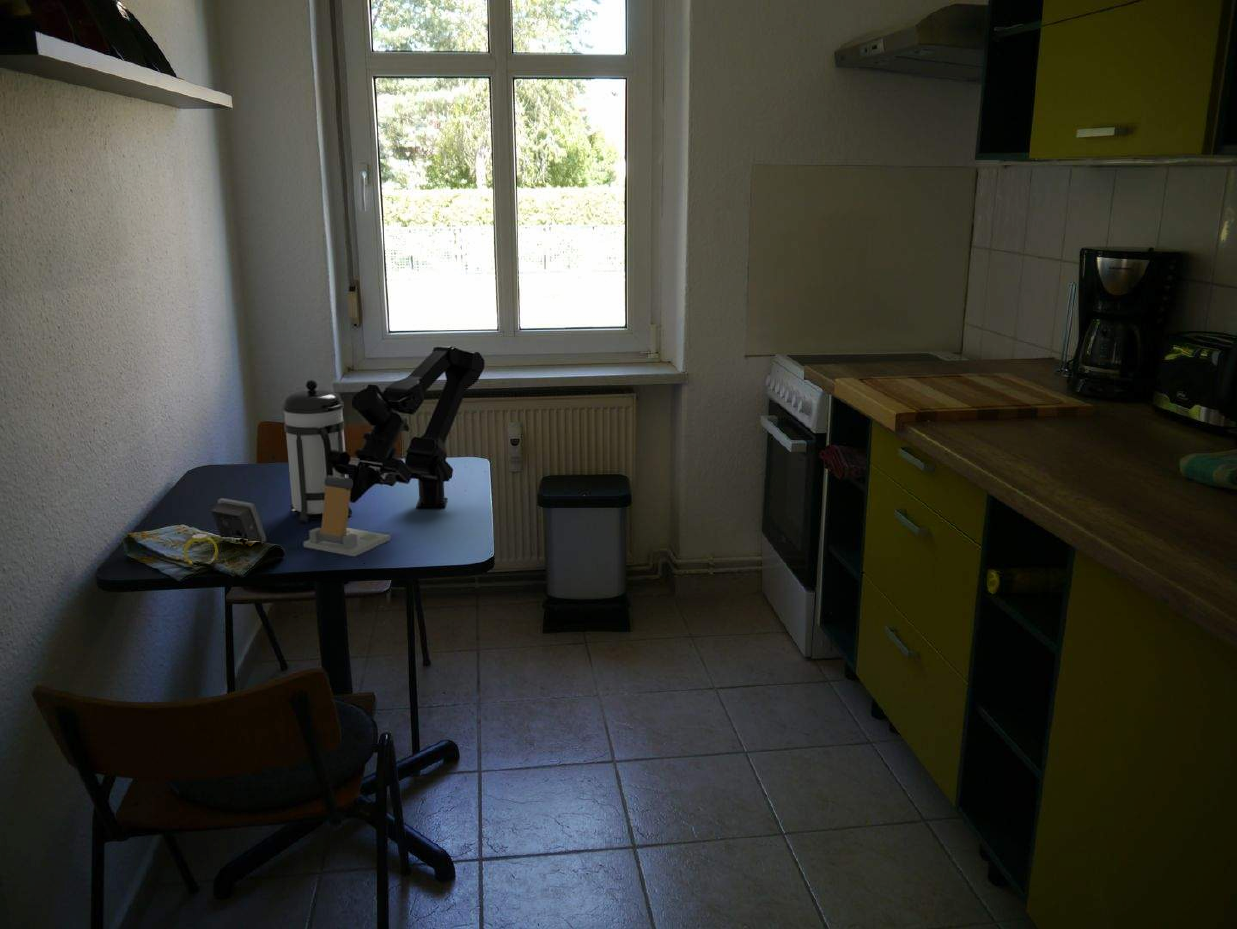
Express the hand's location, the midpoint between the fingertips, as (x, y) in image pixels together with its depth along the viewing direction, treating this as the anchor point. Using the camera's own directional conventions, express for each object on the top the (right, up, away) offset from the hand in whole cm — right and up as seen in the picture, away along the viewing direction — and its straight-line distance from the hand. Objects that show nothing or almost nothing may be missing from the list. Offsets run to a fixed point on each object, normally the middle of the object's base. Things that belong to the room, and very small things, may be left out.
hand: (351, 501), depth 210 cm
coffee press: (-11, -4, +19) cm, 22 cm away
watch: (-26, -12, -11) cm, 31 cm away
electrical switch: (-22, -9, 0) cm, 24 cm away
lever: (-3, -7, -4) cm, 8 cm away
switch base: (-1, -8, 0) cm, 8 cm away
